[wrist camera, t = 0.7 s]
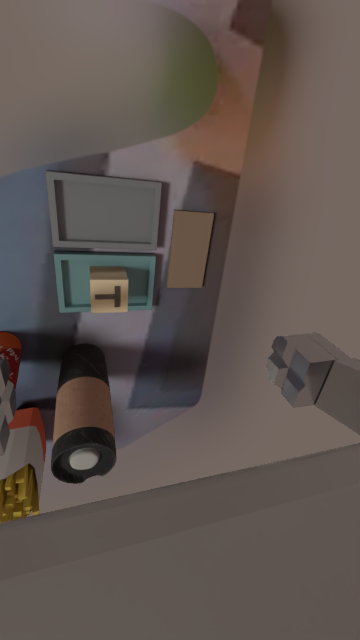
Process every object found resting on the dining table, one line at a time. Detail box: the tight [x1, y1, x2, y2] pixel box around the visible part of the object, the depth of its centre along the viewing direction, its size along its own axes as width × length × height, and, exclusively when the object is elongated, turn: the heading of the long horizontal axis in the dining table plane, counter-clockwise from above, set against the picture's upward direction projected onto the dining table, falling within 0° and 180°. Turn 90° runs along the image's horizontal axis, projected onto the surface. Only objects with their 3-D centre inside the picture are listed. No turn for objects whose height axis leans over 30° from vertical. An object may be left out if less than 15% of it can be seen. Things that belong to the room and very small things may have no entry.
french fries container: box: [0, 407, 46, 523], centre depth 47 cm, size 5×11×18 cm, turn 178°
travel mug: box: [51, 344, 116, 484], centre depth 43 cm, size 8×8×20 cm
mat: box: [167, 210, 214, 288], centre depth 46 cm, size 12×6×1 cm, turn 173°
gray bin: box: [46, 170, 162, 250], centre depth 39 cm, size 9×14×2 cm, turn 83°
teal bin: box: [54, 251, 156, 313], centre depth 44 cm, size 9×14×2 cm, turn 83°
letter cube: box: [89, 266, 128, 313], centre depth 42 cm, size 5×5×5 cm
